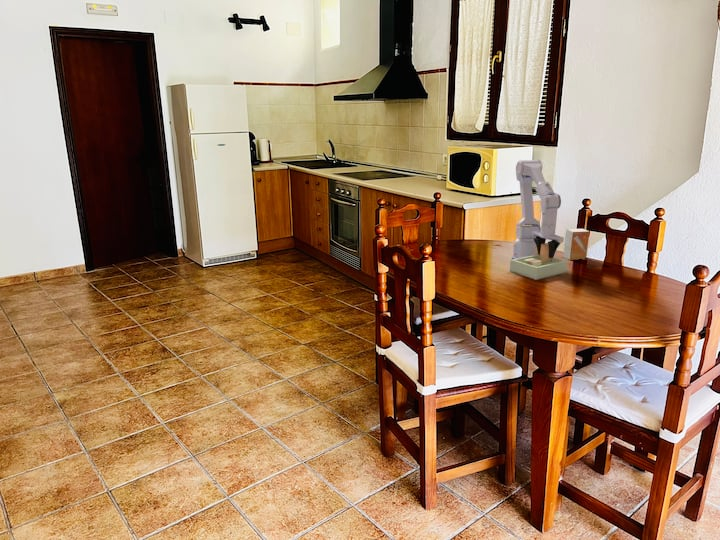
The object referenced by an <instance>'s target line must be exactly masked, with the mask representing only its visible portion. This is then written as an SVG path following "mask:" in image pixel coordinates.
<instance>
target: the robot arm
mask: <svg viewBox="0 0 720 540" xmlns="http://www.w3.org/2000/svg"><path fill="white" fill-rule="evenodd" d="M515 165H516V166H515V176H516V181H517V182H519V190H520V205H521V214H522V215H521V216H522V218H521V219H520V220H519V221H518V222H517V224H516V231H515V235H516V240H515V241H514V242H513V250H512V251H513V252H512V253H513V254H512V256H511V259H517V258H522V257H527V256H532V255H537V254H538V255H540V249H541V243H546V240H549V241H547V243H548V245H549V258H553V257H554V258H555V255H556V252H557V249H558V247H560V245H561V244H562V243H564V242H565V237H562V236H560V235H557V234H556V228H557V218H558V217H557V216H558V209H560V208H561V205H562V198H561V195H560V194H558V193H557V192H554V189H553V188H552V186H551V184H550V182H548V181H546V179H545V177H544V175H543V162H542V161H541V159H532V160H531V159H529V160H528V159H527V160H526V159H525V160H522V159H519V160H518V161H517V163H516V164H515ZM533 182H534V183H535V184H536V187H535V190H536V192H537V194H538V197H539V198H540V202H539V203H540V213H542V214H541V223H540V221H539V220H538V219H536V218H535V211H534V198H533V185H532V183H533ZM536 252H537V254H536Z"/></svg>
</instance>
